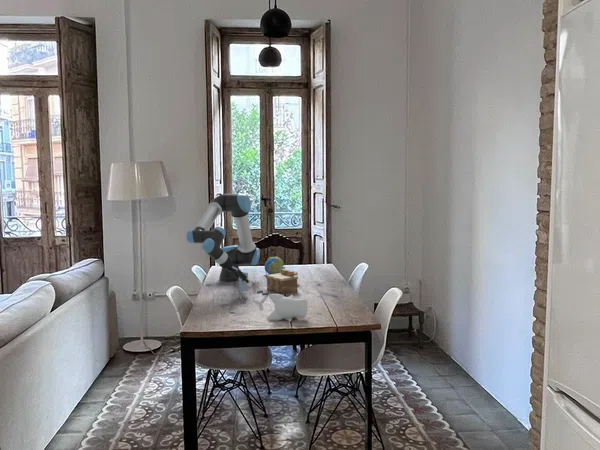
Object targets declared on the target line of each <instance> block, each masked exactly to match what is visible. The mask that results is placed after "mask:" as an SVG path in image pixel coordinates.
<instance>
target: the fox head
mask: <svg viewBox="0 0 600 450" xmlns="http://www.w3.org/2000/svg"><path fill="white" fill-rule="evenodd" d="M267 295H268V298H269V299H270V300H271V302H272V303H273V304H274V310H273V311H272V312H270V314H269V315H267V317H266V320H268V321H273V322H279V321H281V320H286V321H289V322H292V320H293V318H299V319H306V317H307V314H308V309H309V308H308V300H307V299H306V298H299V299H298V298H294V295H293V294H292V293H291V294H290V295H289V296H284V294H279V293H269V294H267Z"/></svg>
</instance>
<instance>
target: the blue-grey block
mask: <svg viewBox="0 0 600 450" xmlns="http://www.w3.org/2000/svg"><path fill="white" fill-rule="evenodd" d="M242 272H243V273H244V274H245V275H246V276H247V279H248V280H249V273H248V272H246V271H242ZM238 292H242V293H245V292H249V286H248V285H246V284H245V283H244V282H243V281H242V279H241V278H240V277H239V280H238Z"/></svg>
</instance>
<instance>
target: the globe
mask: <svg viewBox="0 0 600 450" xmlns="http://www.w3.org/2000/svg"><path fill="white" fill-rule="evenodd" d="M281 269H286V266H284V261H283V260H282V258H280V257H278V256H277V255H276V256H269V257H267V260H266V261H265V263H264V270H265V272H266V273H267V275H270V274H278V273H281Z"/></svg>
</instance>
